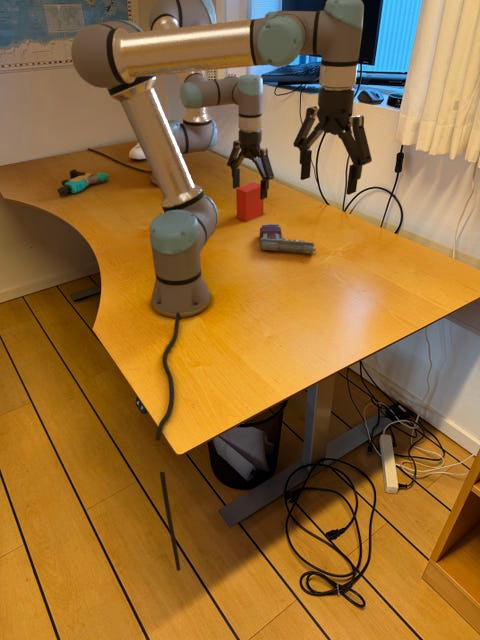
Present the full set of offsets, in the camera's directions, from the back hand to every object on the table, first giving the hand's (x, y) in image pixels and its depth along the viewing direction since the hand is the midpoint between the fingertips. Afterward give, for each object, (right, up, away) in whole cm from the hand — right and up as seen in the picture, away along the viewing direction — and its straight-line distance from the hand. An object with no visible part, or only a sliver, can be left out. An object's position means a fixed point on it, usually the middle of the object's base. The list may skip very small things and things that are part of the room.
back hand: (249, 192), depth 165 cm
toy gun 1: (-71, +10, +30) cm, 77 cm away
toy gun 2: (+12, -21, -14) cm, 28 cm away
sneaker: (-48, +36, +65) cm, 88 cm away
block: (0, -7, +5) cm, 8 cm away
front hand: (+17, -12, -53) cm, 57 cm away
